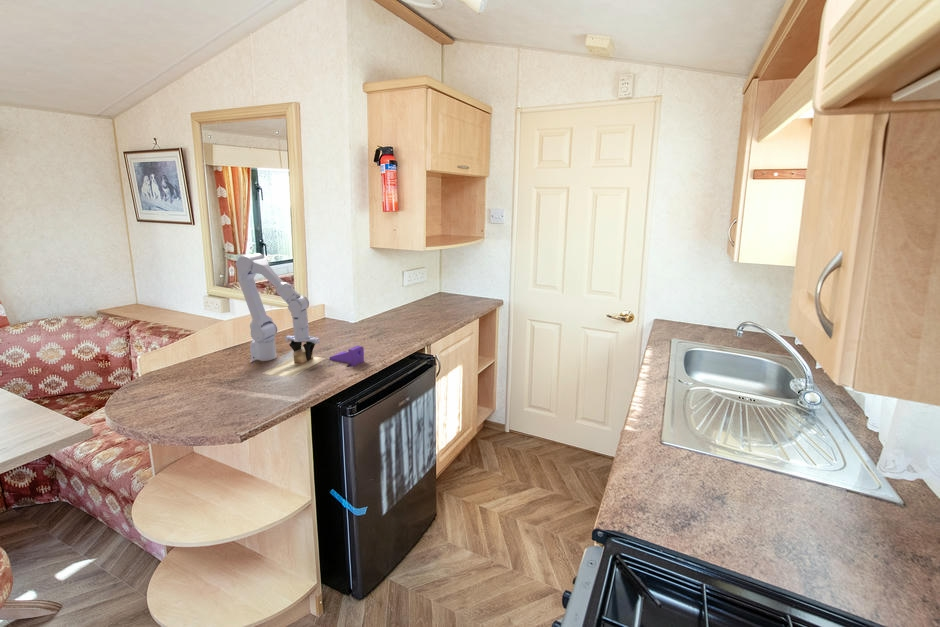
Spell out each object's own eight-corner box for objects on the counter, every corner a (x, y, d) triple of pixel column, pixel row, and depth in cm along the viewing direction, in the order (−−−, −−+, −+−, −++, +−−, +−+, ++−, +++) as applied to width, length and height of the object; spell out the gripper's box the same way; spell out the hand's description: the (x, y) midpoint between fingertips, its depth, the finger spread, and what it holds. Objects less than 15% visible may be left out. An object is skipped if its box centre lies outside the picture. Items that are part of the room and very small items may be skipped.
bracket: (363, 361, 198) (363, 345, 196) (352, 366, 192) (352, 350, 190) (341, 355, 203) (340, 340, 201) (329, 360, 197) (329, 344, 195)
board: (261, 376, 182) (261, 373, 182) (297, 357, 202) (297, 355, 202) (293, 380, 178) (293, 377, 178) (326, 360, 199) (326, 357, 198)
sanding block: (294, 363, 193) (293, 352, 192) (304, 357, 199) (303, 347, 198) (302, 364, 192) (301, 353, 190) (313, 358, 198) (312, 347, 197)
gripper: (278, 328, 190) (282, 360, 194) (310, 330, 186) (313, 363, 190) (290, 323, 197) (293, 355, 200) (321, 326, 193) (324, 358, 196)
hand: (304, 359), depth 195 cm, fingers closed on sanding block, 4 cm apart
